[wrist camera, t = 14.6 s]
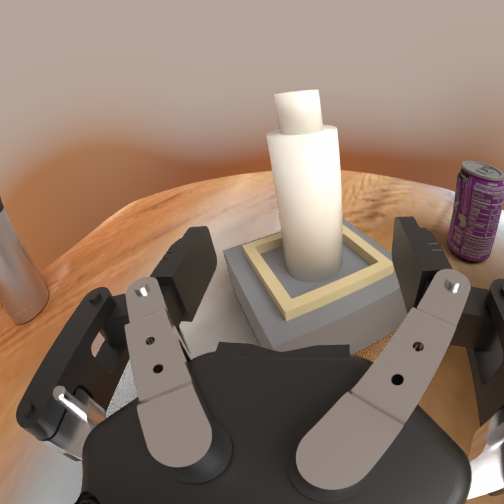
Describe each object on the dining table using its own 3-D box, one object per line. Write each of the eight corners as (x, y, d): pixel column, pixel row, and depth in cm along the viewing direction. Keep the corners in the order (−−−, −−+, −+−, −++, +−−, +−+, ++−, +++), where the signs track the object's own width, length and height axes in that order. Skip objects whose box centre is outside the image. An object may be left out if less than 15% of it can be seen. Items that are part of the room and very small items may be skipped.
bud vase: (277, 258, 27) (249, 96, 19) (324, 242, 28) (309, 88, 20) (302, 290, 23) (277, 95, 15) (353, 268, 24) (347, 88, 16)
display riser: (234, 292, 34) (220, 242, 30) (336, 254, 36) (335, 206, 32) (281, 387, 22) (271, 338, 18) (407, 322, 25) (422, 267, 21)
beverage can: (463, 232, 34) (475, 157, 28) (496, 255, 29) (514, 175, 22) (437, 245, 33) (448, 162, 27) (472, 272, 28) (493, 183, 21)
